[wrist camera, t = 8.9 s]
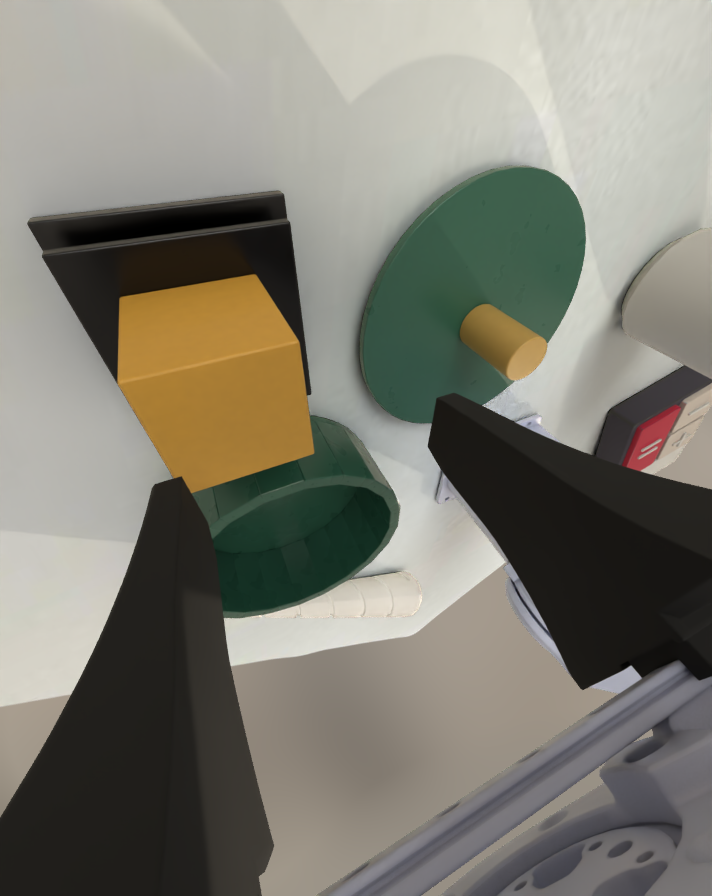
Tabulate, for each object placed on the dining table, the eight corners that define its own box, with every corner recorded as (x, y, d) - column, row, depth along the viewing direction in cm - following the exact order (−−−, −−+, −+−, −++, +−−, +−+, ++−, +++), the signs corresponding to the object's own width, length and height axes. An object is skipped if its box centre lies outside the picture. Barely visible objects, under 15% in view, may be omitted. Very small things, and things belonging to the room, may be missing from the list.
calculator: (735, 375, 36) (681, 462, 47) (691, 355, 38) (650, 441, 50) (641, 430, 35) (609, 505, 46) (603, 406, 38) (582, 482, 49)
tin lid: (614, 150, 18) (721, 168, 15) (522, 384, 28) (574, 425, 25) (351, 178, 14) (418, 210, 11) (355, 438, 24) (391, 494, 21)
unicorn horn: (213, 579, 29) (224, 640, 26) (411, 563, 44) (432, 600, 41) (193, 611, 31) (201, 671, 28) (389, 585, 46) (408, 622, 43)
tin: (367, 389, 22) (409, 444, 19) (365, 513, 32) (393, 564, 28) (125, 457, 18) (125, 540, 15) (207, 574, 28) (218, 640, 25)
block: (256, 272, 13) (300, 340, 9) (277, 377, 16) (315, 454, 13) (118, 296, 11) (115, 382, 8) (170, 404, 15) (183, 497, 11)
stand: (279, 190, 13) (300, 206, 12) (304, 372, 19) (320, 399, 18) (29, 217, 11) (13, 241, 10) (141, 413, 17) (143, 448, 15)
